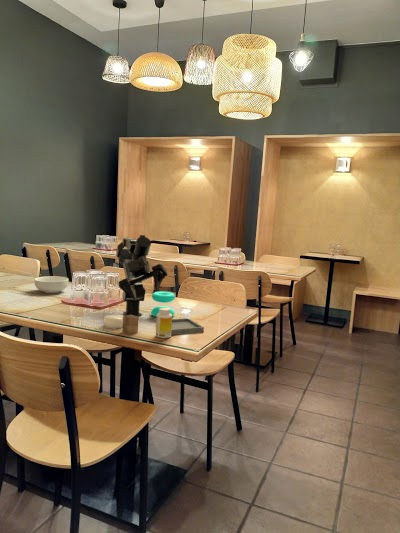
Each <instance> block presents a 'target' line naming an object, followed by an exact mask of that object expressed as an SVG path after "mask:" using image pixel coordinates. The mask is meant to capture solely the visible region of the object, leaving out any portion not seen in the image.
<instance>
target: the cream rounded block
mask: <svg viewBox="0 0 400 533" xmlns="http://www.w3.org/2000/svg"><path fill="white" fill-rule="evenodd" d="M123 316H124V315H122V314H108V315H105V316H104V317H103V319H104V321H103V322H104V323H103V326H105V327H104V328H106V329H111V328H118V329H123Z"/></svg>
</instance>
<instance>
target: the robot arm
mask: <svg viewBox="0 0 400 533" xmlns="http://www.w3.org/2000/svg"><path fill="white" fill-rule="evenodd" d="M151 245H152V241H151V239H149V238H148V237H147V236H146V235H145V234H144V235H143V234H139V237H137V239H135V238H133V237H124V238H122V241H121V242H120V243H119V244H118V245H117V248H116V252H115V253H116V254H115V257H116V258H117V261H118V263H120V264H121V265H122V267H123V271H124V275H125V278H123V279H120V280H119V281H118V284H117V285H118V288H120V289H121V290H122V294H121V296H122V297H121V298H122V300H123V302H125V311H123V314H124V316H127V315H134V316H137V317H139V316H142V315H143V314H142V313H141V312H140V302H144V301H145V296H146V292H147V291H146V288H145V286H144V285H143V282H145V281H146V280H147V281H148V279H149V280H150V279H151V278H153V283H154V289H155V292H159V289H160V286H161V285H162V282H163V280H164V279H165V278H166V277H167V276H168V270H167V269H166V268H165V267H164V265H163V264H162V263H157V264H155V265H153V266H151V271H150V267H149V264H148V259H147V256H148V255H149V253H150V250H151Z"/></svg>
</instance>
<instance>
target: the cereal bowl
mask: <svg viewBox="0 0 400 533" xmlns="http://www.w3.org/2000/svg"><path fill="white" fill-rule="evenodd" d="M69 281H70V280H69V278H68V277H66V276H56V275H54V276H53V275H52V276H48V275H47V276H39V277H35V278H34V286H35V287H36V289H37V290H39V291H41V292H43V293H44V292H45V293H44V294H59V293H60V292H61V291H64V290H65V289H67V288H68V286H69ZM58 292H59V293H58Z"/></svg>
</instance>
